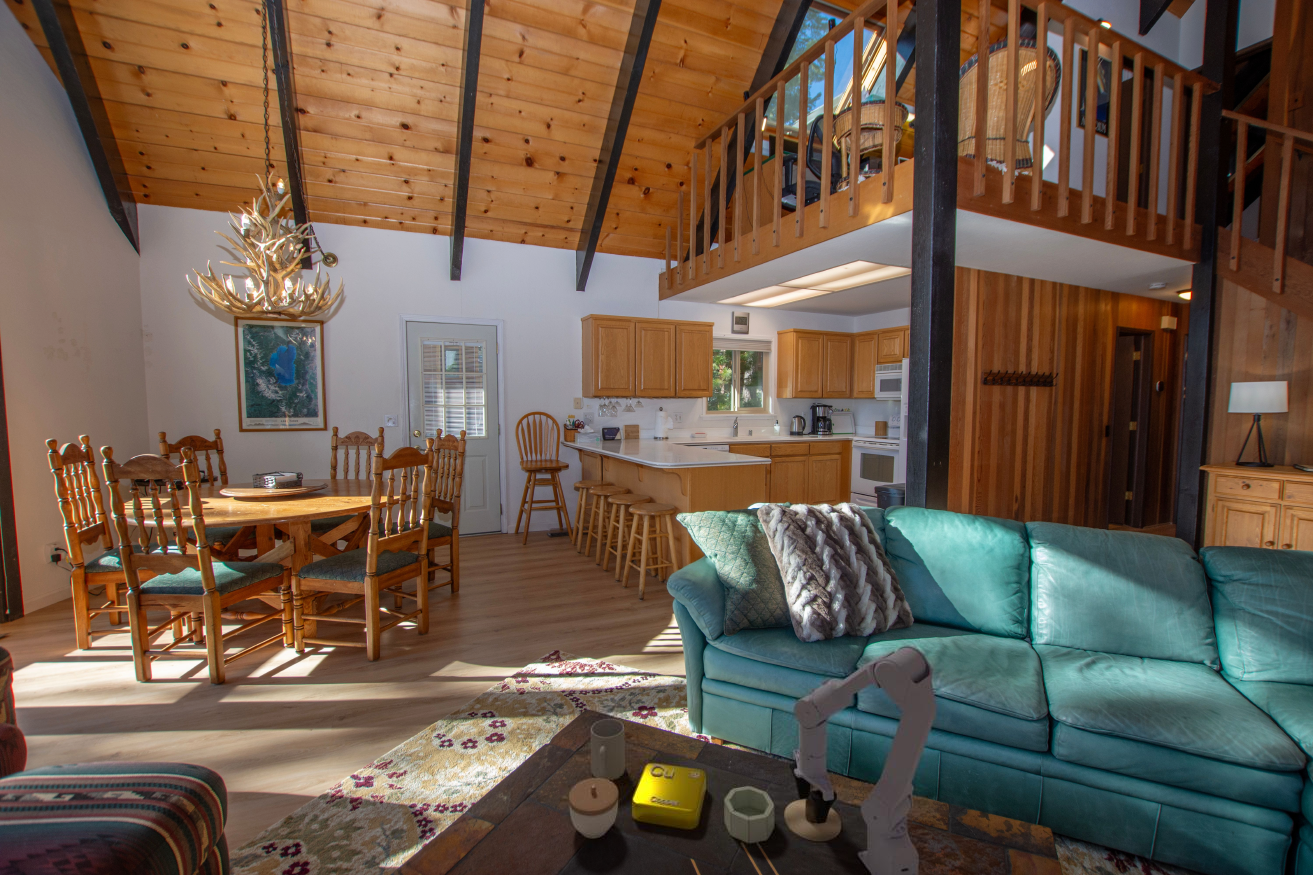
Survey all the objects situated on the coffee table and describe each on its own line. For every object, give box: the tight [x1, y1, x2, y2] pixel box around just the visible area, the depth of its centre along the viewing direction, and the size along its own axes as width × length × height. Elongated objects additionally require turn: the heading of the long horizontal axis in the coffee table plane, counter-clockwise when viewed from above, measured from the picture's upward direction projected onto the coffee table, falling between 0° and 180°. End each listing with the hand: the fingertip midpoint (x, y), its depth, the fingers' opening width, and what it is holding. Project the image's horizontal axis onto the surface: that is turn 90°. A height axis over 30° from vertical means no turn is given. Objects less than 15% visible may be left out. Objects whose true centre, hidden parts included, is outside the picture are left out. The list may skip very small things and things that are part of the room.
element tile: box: [631, 762, 707, 830], centre depth 130 cm, size 15×15×5 cm
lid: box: [783, 797, 842, 842], centre depth 124 cm, size 12×12×4 cm
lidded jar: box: [568, 777, 619, 839], centre depth 122 cm, size 11×11×9 cm
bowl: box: [723, 785, 775, 844], centre depth 123 cm, size 10×10×5 cm
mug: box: [590, 718, 626, 781], centre depth 140 cm, size 12×8×11 cm
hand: (812, 809), depth 124 cm, fingers open, 7 cm apart
